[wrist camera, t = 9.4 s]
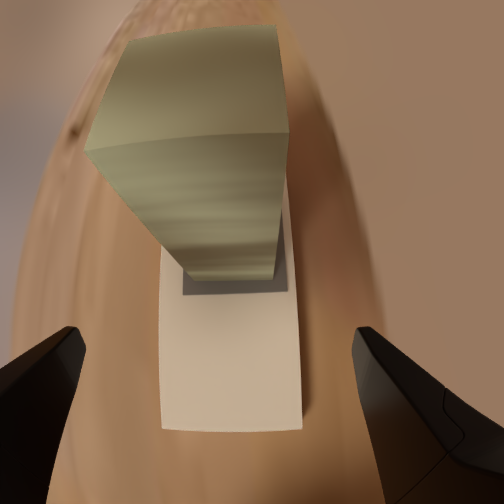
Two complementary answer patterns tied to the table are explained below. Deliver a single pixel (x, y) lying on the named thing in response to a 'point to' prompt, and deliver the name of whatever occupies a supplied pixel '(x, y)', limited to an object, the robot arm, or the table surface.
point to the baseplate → (231, 347)
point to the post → (200, 146)
